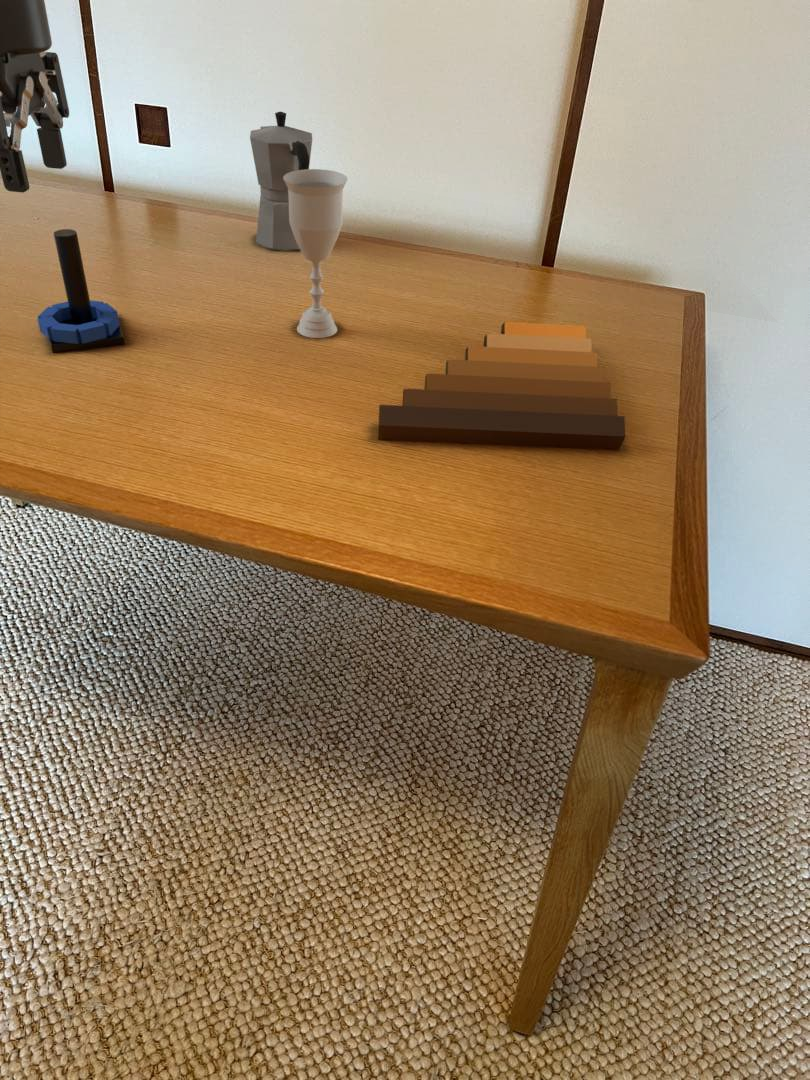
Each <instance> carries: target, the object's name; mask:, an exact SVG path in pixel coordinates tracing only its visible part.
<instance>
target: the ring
mask: <svg viewBox="0 0 810 1080" xmlns="http://www.w3.org/2000/svg"><path fill="white" fill-rule="evenodd" d="M90 304H91V309H92V314H93V319H97V320H96V321H93V322H89V323H84V324H80V325H71V324H61V322H62V321H66V320H70V319H71V314H70V309H69V304H68V301H64V302H59V303H54V304H51V306H47V307H46V308H45V309H44V310H42V311H41V313H39V314H38V315H37V323H38V328H39V331H40V332H41V334H43V335H44V336H45V337H46V338H47V339H48V340H49V341H50V340H53V341H54V342H64V343H74V344H78V343H79V342H80V341H81V342H82V343H87V342H91V341H95V340H99V339H104V338H107V336H111V335H112V333H113V332H114V331H115V330H116V329H117V328H118V327H119V324H120V321H119V320H120V319H119V315H118V311H117V309H115V308H114V307H112V305H110V304H109V303H107V302H104V301H100V300H91V299H90Z"/></svg>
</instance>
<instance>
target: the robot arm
mask: <svg viewBox="0 0 810 1080" xmlns="http://www.w3.org/2000/svg"><path fill="white" fill-rule="evenodd" d="M47 13H48V12H47V8H46V2H45V0H0V175H1V179H2V183H3V186H4V188H5V190H6V191H8V192H12V193H13V192H14V193H26V192H27V191H29V190H30V183H29V179H28V173H27V168H26V164H25V160H24V155H23V150H22V149H21V142H22V141H21V140H22V131H23V130H24V129H26V128H27V127H28V124H29V123H28V121H29V117H31V118H32V120H33V122H34V123H35V125H36V126H37V127H38V128H36V132H37V133H36V134H37V138H38V142H39V147H40V153H41V156H42V157H41V158H42V162H43V164H44V166H45V167H46V168H47V169H57V170H62V169H64V168H65V167H67V165H68V163H67V156H66V151H65V147H64V141H63V136H62V131H61V129H63V127H64V120H63V119H64V118H66V119H68V118H69V116H70V108H69V103H68V98H67V94H66V89H65V84H64V80H63V79H64V78H63V74H62V69H61V65H60V64H61V63H60V60H59V55H58V53H56V52H53V51H49V50H50V49H51V48H52V46H53V40H52V36H51V30H50V29H51V28H50V24H49V18H48V14H47ZM8 128H9V131H8ZM8 132H9V133H8Z"/></svg>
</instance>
